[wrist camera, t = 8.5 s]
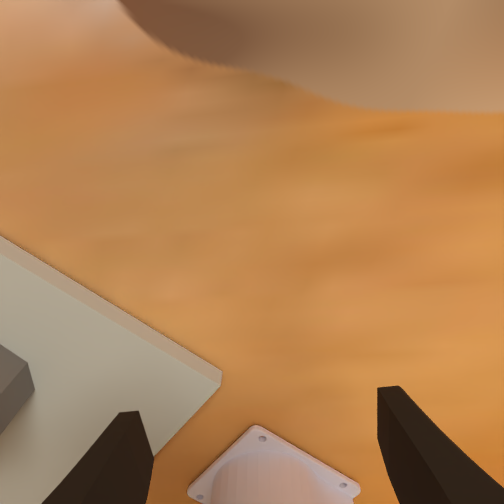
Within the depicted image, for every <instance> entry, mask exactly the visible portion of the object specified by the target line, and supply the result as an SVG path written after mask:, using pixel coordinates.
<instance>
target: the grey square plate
mask: <svg viewBox="0 0 504 504" xmlns="http://www.w3.org/2000/svg"><path fill="white" fill-rule="evenodd" d="M0 344H1V345H2V346H4V347H5V348H7V349H8V350H10V351H11V352H13V353H14V354H16V355H17V356H19V357H20V358H22V359H23V360H25V361H26V362H28V365H29V369H30V373H31V376H32V380H33V383H34V387H35V390H34V392H33V393H32V394H31V396H30V397H29V398H28V400H27V401H26V402H25V403H24V405H23V406H22V407H21V409H20V410H19V411H18V413H17V414H16V415H15V417H14V418H13V419H12V421H11V422H10V423H9V425H8V426H7V427H6V429H5V430H4V431H3V433H2V434H1V435H0V504H41V503H42V502H43V501H44V500H45V499H46V498H47V497H48V496H49V495H50V494H51V492H52V491H53V490H54V489H55V488H56V487H57V486H58V485H59V484H60V483H61V481H62V480H63V479H64V478H65V477H66V476H67V474H68V473H69V472H70V471H71V470H72V469H73V467H74V466H75V465H76V464H77V463H78V461H79V460H80V459H81V458H82V457H83V456H84V454H85V453H86V452H87V451H88V450H89V448H90V447H91V446H92V445H93V444H94V442H95V441H96V440H97V439H98V437H99V436H100V435H101V434H102V433H103V431H104V430H105V429H106V428H107V426H108V425H109V424H110V423H111V422H112V420H113V419H114V418H115V417H116V416H117V415H118V413H119V412H128V411H138V410H139V413H140V416H141V419H142V422H143V425H144V428H145V432H146V435H147V438H148V441H149V444H150V447H151V450H152V453H153V456H155V455H156V454H157V453H158V452H159V451H160V450H161V449H162V447H163V446H164V445H165V444H166V443H167V442H168V441H169V440H170V439H171V438H172V437H173V436H174V435H175V434H176V433H177V432H178V431H179V429H180V428H181V427H182V426H183V425H184V424H185V423H186V422H187V421H188V420H189V419H190V418H191V417H192V416H193V415H194V414H195V413H196V411H197V410H198V409H199V408H200V407H201V406H202V405H203V404H204V403H205V402H206V401H207V400H208V399H209V398H210V397H211V396H212V395H213V393H214V392H215V391H216V390H217V389H218V388H219V387H220V386H221V380H222V371H221V370H219V369H218V368H216V367H214V366H213V365H211V364H210V363H208V362H206V361H205V360H203V359H201V358H200V357H198V356H196V355H195V354H193V353H192V352H190V351H188V350H187V349H185V348H183V347H182V346H180V345H178V344H177V343H175V342H174V341H172V340H170V339H169V338H167V337H165V336H164V335H162V334H160V333H159V332H157V331H156V330H154V329H152V328H151V327H149V326H147V325H146V324H144V323H142V322H141V321H139V320H137V319H136V318H134V317H133V316H131V315H129V314H128V313H126V312H124V311H123V310H121V309H119V308H118V307H116V306H115V305H113V304H111V303H110V302H108V301H106V300H105V299H103V298H101V297H100V296H98V295H97V294H95V293H93V292H92V291H90V290H88V289H87V288H85V287H83V286H82V285H80V284H79V283H77V282H75V281H74V280H72V279H70V278H69V277H67V276H65V275H64V274H62V273H60V272H59V271H57V270H56V269H54V268H52V267H51V266H49V265H47V264H46V263H44V262H42V261H41V260H39V259H38V258H36V257H34V256H33V255H31V254H29V253H28V252H26V251H24V250H23V249H21V248H20V247H18V246H16V245H15V244H13V243H11V242H10V241H8V240H6V239H5V238H3V237H2V236H0Z"/></svg>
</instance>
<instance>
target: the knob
mask: <svg viewBox="0 0 504 504" xmlns="http://www.w3.org/2000/svg"><path fill="white" fill-rule="evenodd" d="M34 390H35V387H34V383H33V380H32V376H31V373H30V369H29V365H28V362H26V361H25V360H23V359H22V358H20V357H19V356H17V355H16V354H14V353H13V352H11V351H10V350H8V349H7V348H5V347H4V346H2V345H1V344H0V435H1V434H2V433H3V431H4V430H5V429H6V427H7V426H8V425H9V423H10V422H11V421H12V419H13V418H14V417H15V415H16V414H17V413H18V411H19V410H20V409H21V407H22V406H23V405H24V403H25V402H26V401H27V400H28V398H29V397H30V396H31V394H32V393H33V392H34Z"/></svg>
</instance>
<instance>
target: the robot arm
mask: <svg viewBox="0 0 504 504" xmlns="http://www.w3.org/2000/svg"><path fill="white" fill-rule="evenodd" d="M260 436H264V437H260ZM377 439H378V442H379V446H380V449H381V453H382V456H383V459H384V463H385V466H386V469H387V473H388V476H389V478H390V481H391V483H392V486H393V488H394V491H395V493H396V496H397V498H398V501H399V503H400V504H504V488H503V487H502V486H501V485H500V484H498V483H497V482H496V481H495V480H494V479H493V478H491V477H490V476H489V475H488V474H487V473H486V472H485V471H484V470H482V469H481V468H480V467H479V466H478V465H477V464H476V463H475V462H474V461H472V460H471V459H470V458H469V457H468V456H467V455H466V454H465V453H464V452H463V451H462V450H461V449H460V448H459V447H458V446H457V445H456V444H455V443H454V442H453V441H452V440H451V439H449V438H448V437H447V436H446V435H445V434H444V433H443V432H442V431H441V430H440V429H439V428H438V427H437V426H436V425H435V424H434V423H433V421H432V420H431V419H430V418H429V417H428V416H427V415H426V414H425V413H424V412H423V411H422V410H421V409H420V408H419V407H418V406H417V405H416V403H415V402H414V401H413V400H412V399H411V398H410V397H409V396H408V395H407V393H406V392H405V391H404V390H403V389H402V388H401V387H400V386H390V387H380V388H377ZM153 462H154V456H153V453H152V450H151V447H150V444H149V441H148V438H147V435H146V432H145V428H144V425H143V422H142V419H141V416H140V413H139V410H138V411H128V412H119V413H118V415H117V416H116V417H115V418H114V419H113V420H112V422H111V423H110V424H109V425H108V426H107V428H106V429H105V430H104V431H103V433H102V434H101V435H100V436H99V437H98V439H97V440H96V441H95V442H94V444H93V445H92V446H91V447H90V448H89V450H88V451H87V452H86V453H85V454H84V456H83V457H82V458H81V459H80V460H79V461H78V463H77V464H76V465H75V466H74V467H73V469H72V470H71V471H70V472H69V473H68V474H67V476H66V477H65V478H64V479H63V480H62V481H61V483H60V484H59V485H58V486H57V487H56V488H55V489H54V490H53V491H52V492H51V494H50V495H49V496H48V497H47V498H46V499H45V500H44V501H43V502H42V503H41V504H145V503H146V500H147V496H148V491H149V486H150V480H151V474H152V468H153ZM360 491H361V489H360V486H359V484H358V483H357V482H355V481H353V480H352V479H350V478H348V477H347V476H345V475H343V474H341V473H340V472H338V471H336V470H335V469H333V468H331V467H329V466H328V465H326V464H324V463H323V462H321V461H319V460H317V459H316V458H314V457H312V456H311V455H309V454H307V453H306V452H304V451H302V450H300V449H299V448H297V447H295V446H294V445H292V444H290V443H288V442H287V441H285V440H283V439H282V438H280V437H278V436H277V435H275V434H273V433H271V432H270V431H268V430H266V429H265V428H263V427H261V426H259V425H254V426H251V427H250V428H249V429H248V430H247V431H246V432H245V433H244V434H243V435H242V436H241V437H239V438H238V439H237V440H236V441H235V442H234V443H233V444H232V445H231V446H230V447H229V448H228V449H227V450H226V451H225V452H224V453H223V454H222V455H221V456H220V457H219V458H218V459H217V460H216V461H215V462H213V463H212V464H211V465H210V466H209V467H208V468H207V469H206V470H205V471H204V472H203V473H202V474H201V475H200V476H199V477H198V478H197V479H196V480H195V481H194V482H193V483H192V484H191V485H190V486H189V487H188V490H187V495H188V496H189V497H190V498H192V499H194V500H196V501H198V502H200V503H202V504H354V503H353V498H354V497H356V496H357V495H358V494H359V493H360Z"/></svg>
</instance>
